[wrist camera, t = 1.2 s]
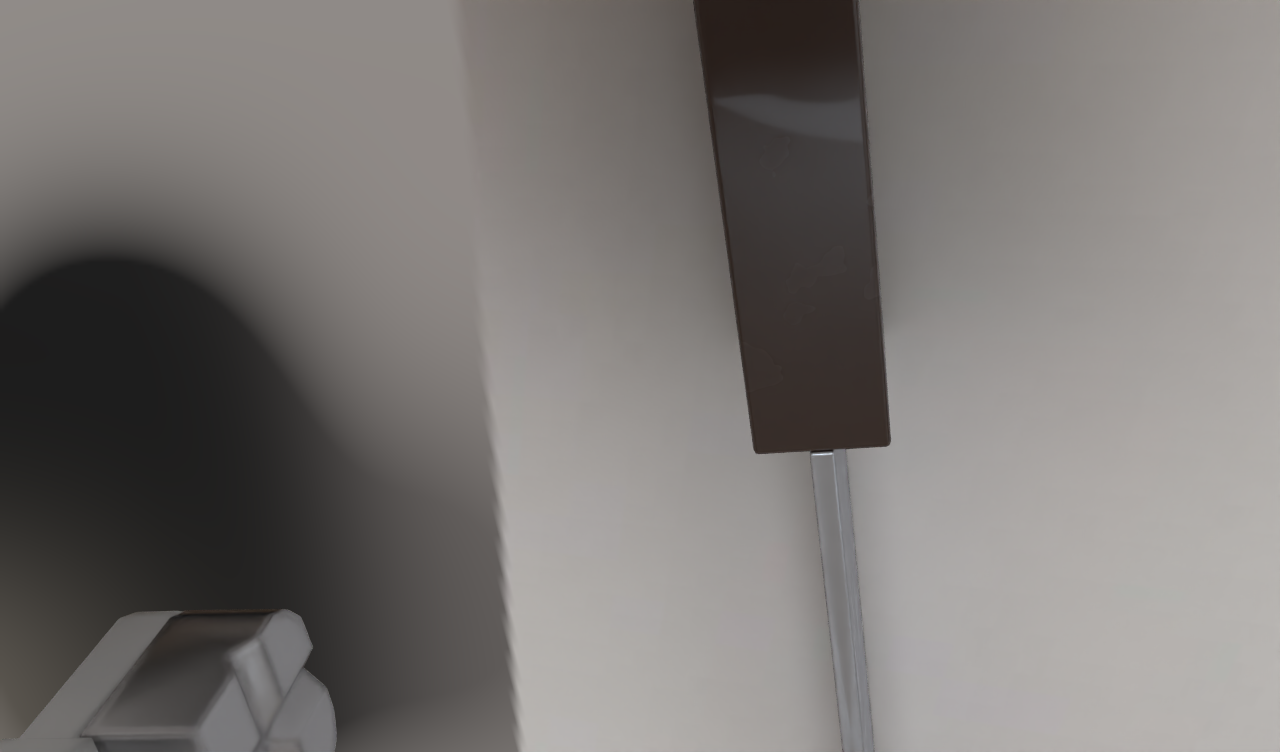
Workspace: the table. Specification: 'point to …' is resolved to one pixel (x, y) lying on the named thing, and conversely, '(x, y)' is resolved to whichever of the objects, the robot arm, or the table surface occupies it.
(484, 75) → the table surface
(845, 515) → the cake knife
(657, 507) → the table surface
